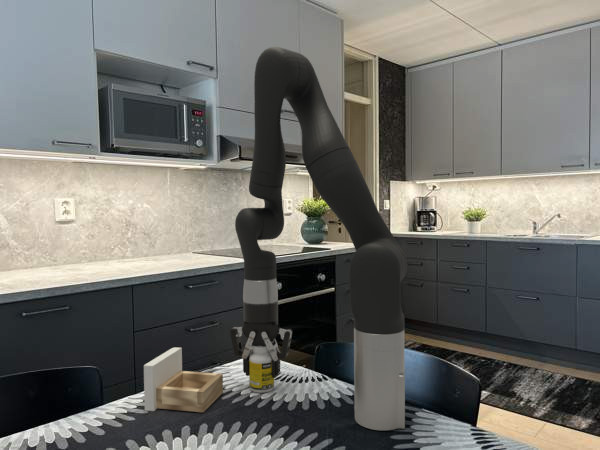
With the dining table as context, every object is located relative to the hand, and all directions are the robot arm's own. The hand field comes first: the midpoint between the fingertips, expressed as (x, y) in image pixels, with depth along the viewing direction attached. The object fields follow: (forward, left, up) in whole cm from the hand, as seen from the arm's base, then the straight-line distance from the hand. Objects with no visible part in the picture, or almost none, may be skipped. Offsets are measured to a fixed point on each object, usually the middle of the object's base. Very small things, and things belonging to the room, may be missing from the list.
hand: (261, 375), depth 101 cm
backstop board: (+18, +9, -3) cm, 21 cm away
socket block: (+12, +9, -3) cm, 16 cm away
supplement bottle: (0, 0, -3) cm, 3 cm away
